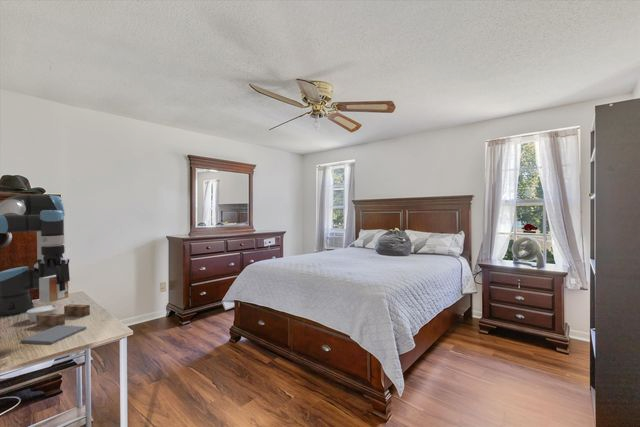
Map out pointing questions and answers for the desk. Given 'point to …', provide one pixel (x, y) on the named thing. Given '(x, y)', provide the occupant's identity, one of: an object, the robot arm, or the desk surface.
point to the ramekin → (40, 312)
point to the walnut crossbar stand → (62, 315)
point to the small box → (50, 289)
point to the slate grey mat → (53, 334)
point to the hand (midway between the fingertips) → (54, 297)
